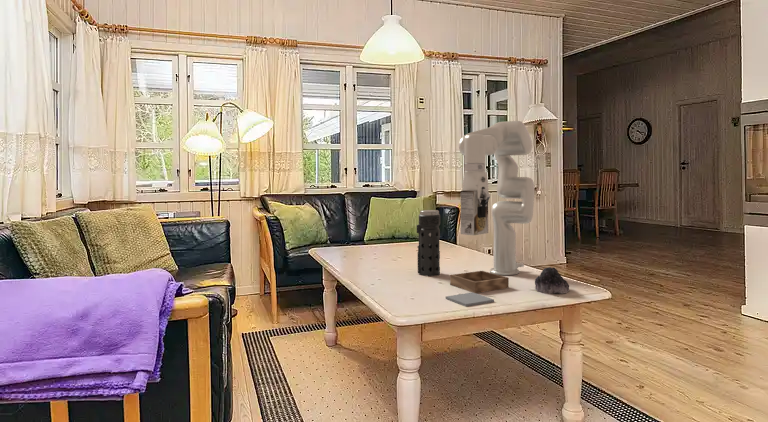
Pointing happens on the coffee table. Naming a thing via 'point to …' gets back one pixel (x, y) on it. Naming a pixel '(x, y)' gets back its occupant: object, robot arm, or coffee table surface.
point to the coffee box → (472, 214)
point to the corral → (479, 281)
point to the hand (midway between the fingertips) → (474, 216)
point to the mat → (469, 299)
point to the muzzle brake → (429, 243)
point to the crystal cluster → (551, 282)
